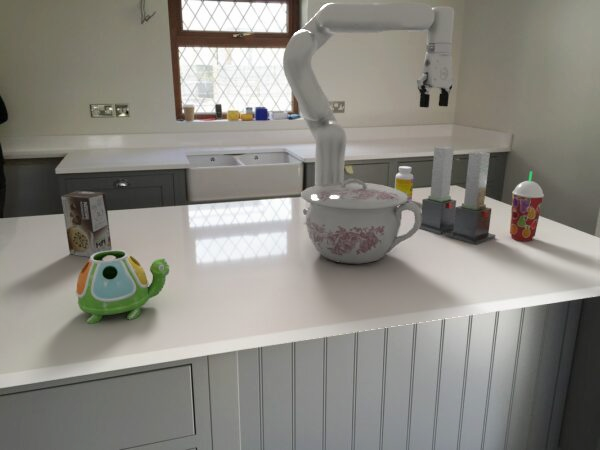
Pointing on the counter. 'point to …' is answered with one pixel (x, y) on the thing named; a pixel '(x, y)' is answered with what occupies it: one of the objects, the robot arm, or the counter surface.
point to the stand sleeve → (438, 216)
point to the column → (441, 174)
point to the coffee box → (86, 222)
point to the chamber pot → (356, 220)
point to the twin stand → (474, 204)
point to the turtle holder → (117, 284)
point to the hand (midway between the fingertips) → (433, 106)
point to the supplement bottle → (405, 181)
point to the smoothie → (525, 210)
